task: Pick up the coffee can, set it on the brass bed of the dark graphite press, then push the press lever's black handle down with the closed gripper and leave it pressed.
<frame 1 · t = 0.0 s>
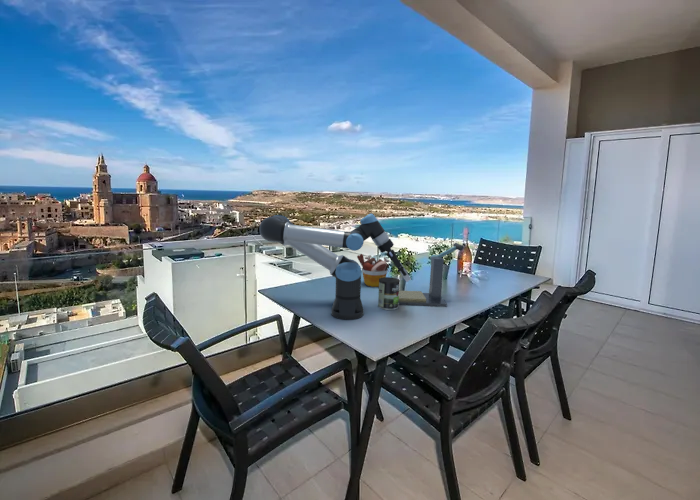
hand: (406, 277, 160), 15 cm above the table, tool tilted 35°, fingers open, 13 cm apart
bucket of meat: (373, 285, 201), on the table
press lever: (446, 252, 174), point 25 cm above the table, hinge at -30.0°
coffee can: (388, 307, 162), on the table
press frame: (419, 300, 173), on the table
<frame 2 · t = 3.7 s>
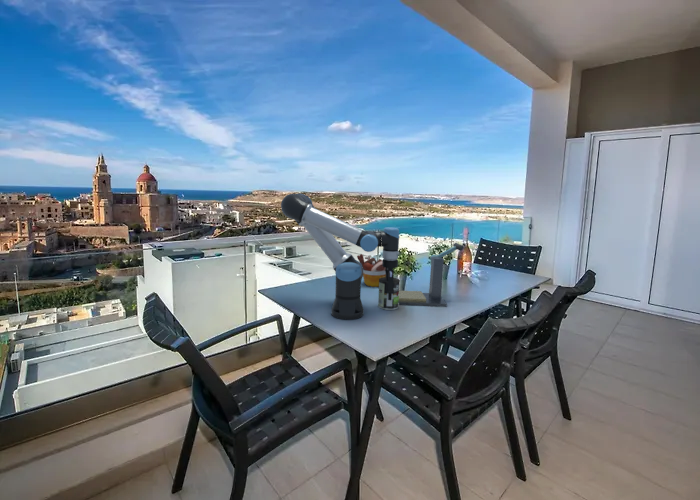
hand: (388, 302, 161), 2 cm above the table, tool pointing down, fingers closed on coffee can, 10 cm apart
coffee can: (388, 307, 162), on the table, touching gripper
everything else where it was.
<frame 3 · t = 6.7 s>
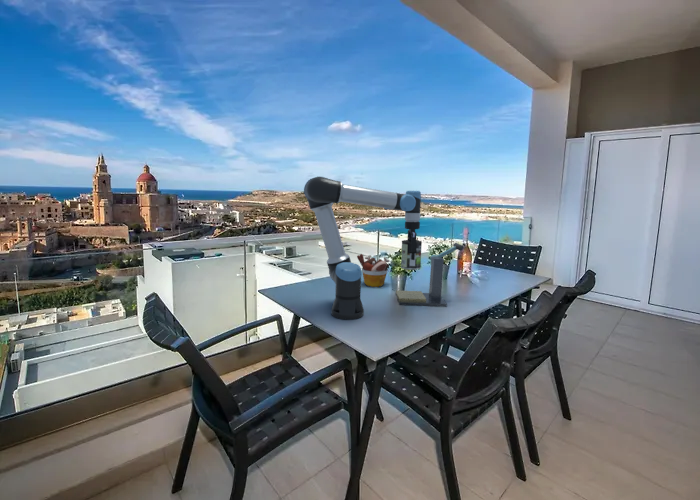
hand: (410, 263, 168), 20 cm above the table, tool pointing down, fingers closed on coffee can, 10 cm apart
coffee can: (410, 268, 169), point 18 cm above the table, touching gripper
everything else where it was.
when the fingers open (7 cm above the table, at t = 9.9 s): coffee can drops 1 cm, resting on press frame.
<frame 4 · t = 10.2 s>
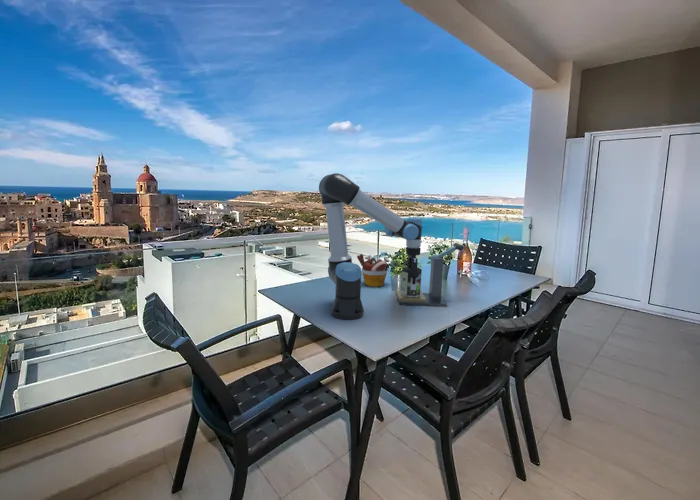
hand: (411, 286, 172), 8 cm above the table, tool pointing down, fingers open, 13 cm apart
coffee can: (410, 294, 173), point 3 cm above the table, touching press frame
everything else where it was.
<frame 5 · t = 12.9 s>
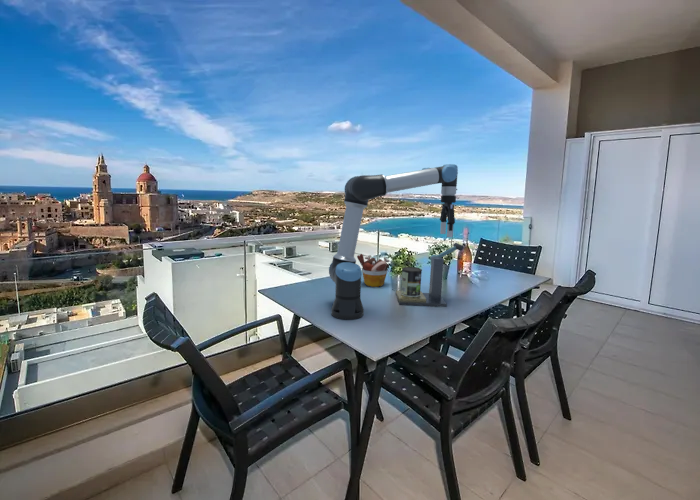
hand: (446, 235, 171), 35 cm above the table, tool pointing down, fingers open, 13 cm apart
nothing on the table moved.
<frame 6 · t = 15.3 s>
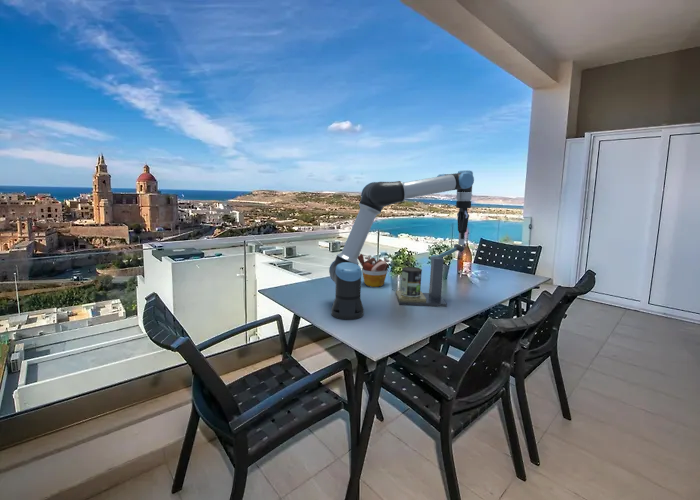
hand: (461, 244, 173), 30 cm above the table, tool pointing down, fingers closed
press lever: (446, 253, 174), point 25 cm above the table, hinge at -26.8°, touching gripper
everything else where it was.
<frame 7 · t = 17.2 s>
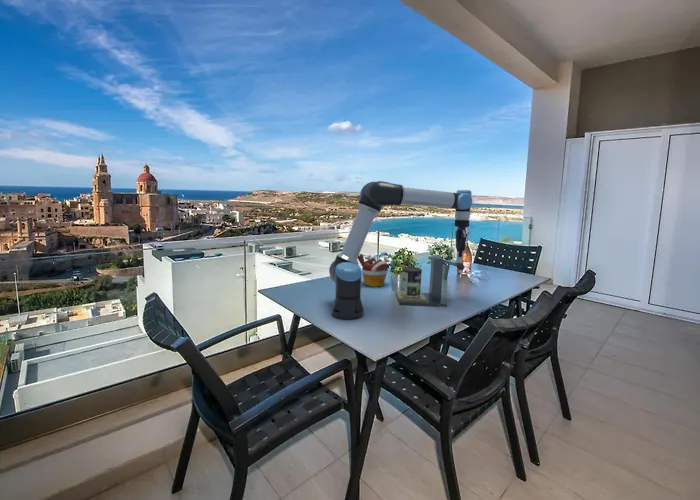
hand: (459, 262, 175), 20 cm above the table, tool pointing down, fingers closed
press lever: (446, 262, 175), point 20 cm above the table, hinge at 14.5°, touching gripper
everything else where it was.
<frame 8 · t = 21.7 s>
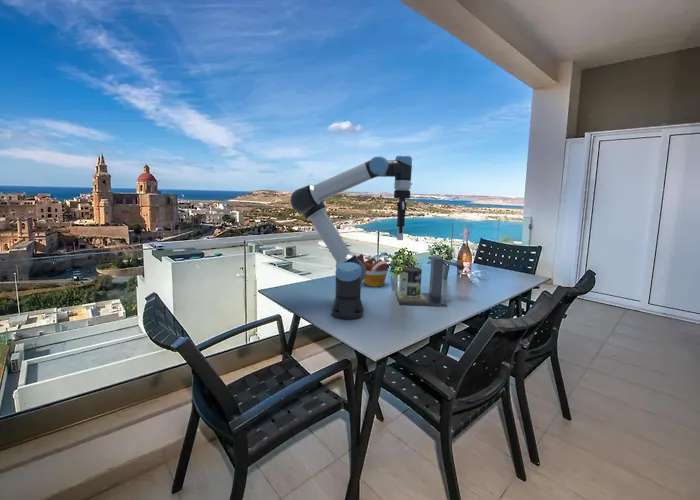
hand: (399, 239, 154), 34 cm above the table, tool pointing down, fingers closed
press lever: (446, 262, 175), point 20 cm above the table, hinge at 14.7°
everything else where it was.
at the end: coffee can inside the target area on the press frame (0.2 cm from its centre), point 2.8 cm above the press frame's base; coffee can tilted 0°; press lever at +15° (first picture: -30°) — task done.
